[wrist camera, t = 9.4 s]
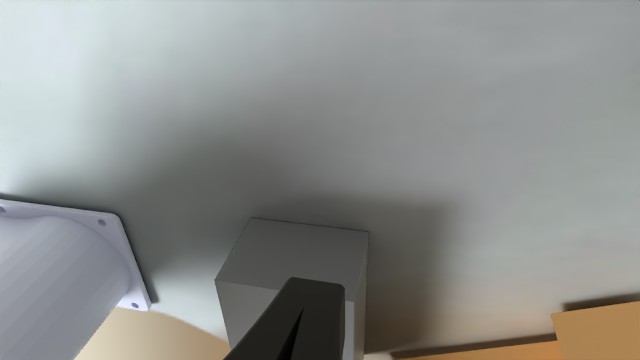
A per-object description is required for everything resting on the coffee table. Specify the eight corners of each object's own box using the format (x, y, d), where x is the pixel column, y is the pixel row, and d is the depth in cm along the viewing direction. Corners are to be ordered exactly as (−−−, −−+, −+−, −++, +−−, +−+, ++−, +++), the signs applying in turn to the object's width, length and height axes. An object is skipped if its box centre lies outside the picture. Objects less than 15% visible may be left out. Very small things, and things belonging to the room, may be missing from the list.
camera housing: (269, 338, 28) (237, 422, 23) (250, 217, 22) (204, 297, 18) (363, 355, 26) (349, 447, 22) (368, 231, 21) (350, 321, 17)
